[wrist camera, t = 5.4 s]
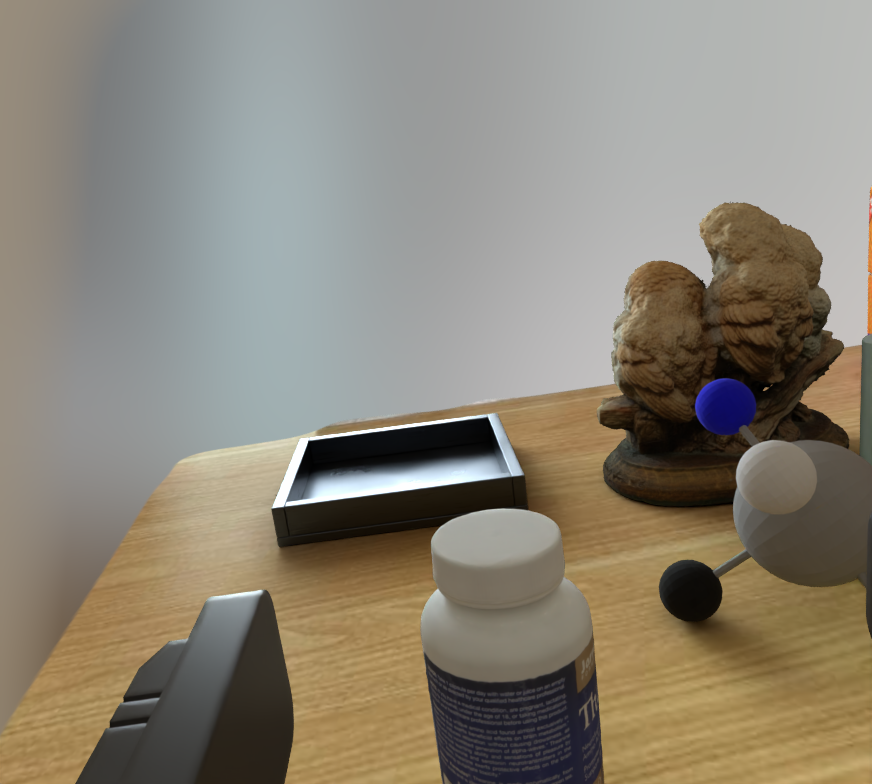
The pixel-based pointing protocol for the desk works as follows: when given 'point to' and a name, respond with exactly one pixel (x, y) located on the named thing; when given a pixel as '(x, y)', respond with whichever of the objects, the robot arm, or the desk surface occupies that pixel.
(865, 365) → the squiggly pen holder
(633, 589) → the desk surface
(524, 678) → the pill bottle
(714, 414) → the molecular model
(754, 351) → the owl figurine
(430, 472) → the bin
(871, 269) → the game box
